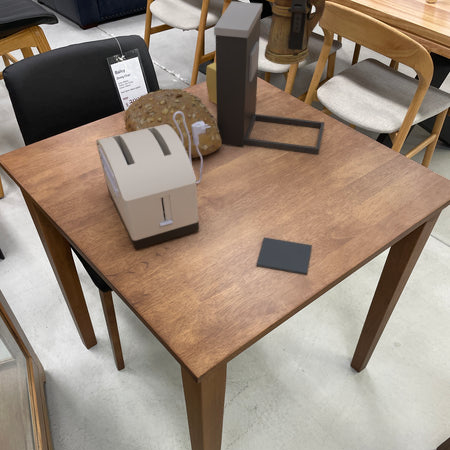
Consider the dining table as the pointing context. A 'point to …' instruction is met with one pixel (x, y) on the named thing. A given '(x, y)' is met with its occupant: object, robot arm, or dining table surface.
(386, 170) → the dining table surface
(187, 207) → the toaster
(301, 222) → the dining table surface
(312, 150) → the coffee maker
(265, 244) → the mat
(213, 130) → the bread
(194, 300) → the dining table surface
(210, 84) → the cheese
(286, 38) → the wooden mug
